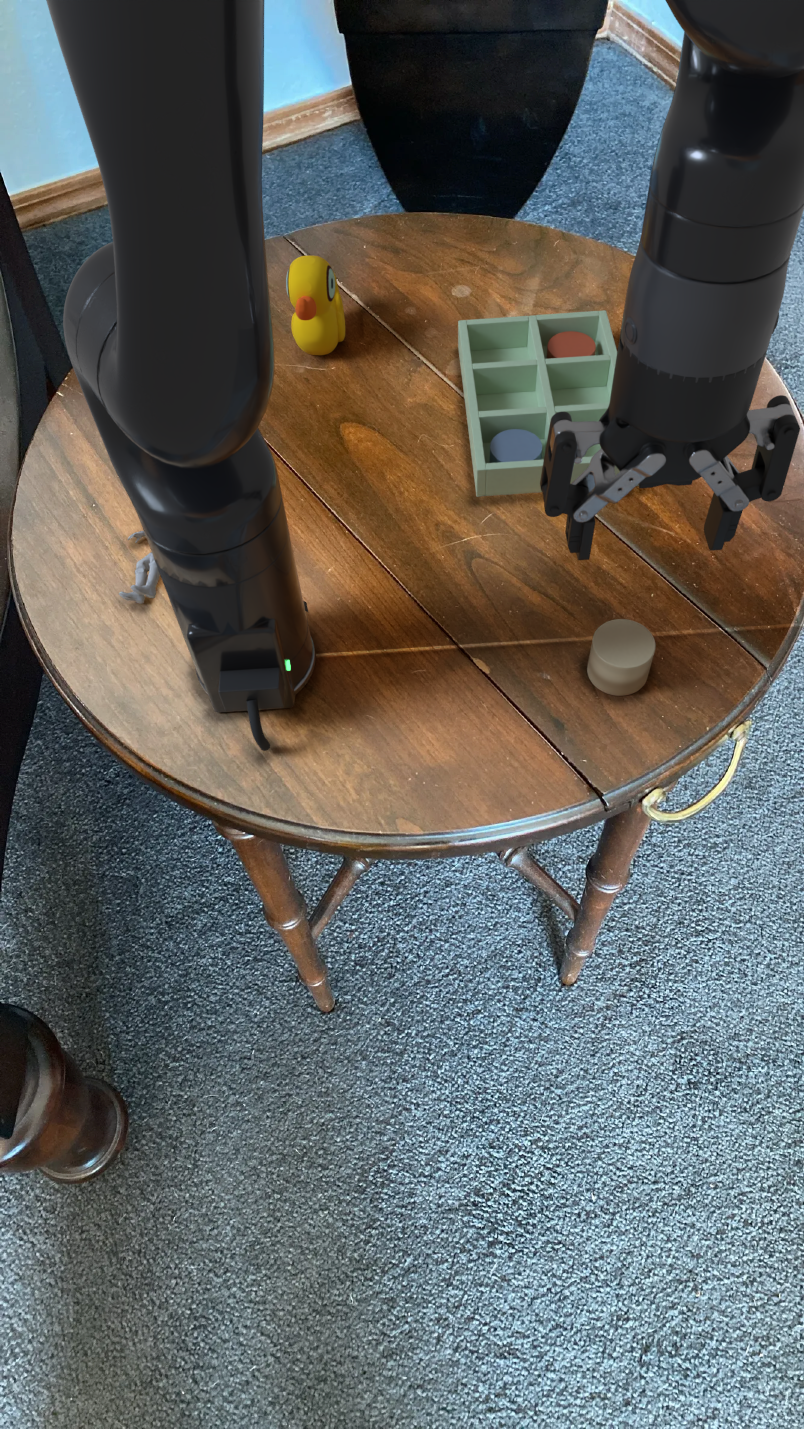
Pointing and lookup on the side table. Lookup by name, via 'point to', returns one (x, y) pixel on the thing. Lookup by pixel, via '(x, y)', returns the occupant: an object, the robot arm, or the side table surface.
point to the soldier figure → (143, 577)
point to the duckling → (315, 305)
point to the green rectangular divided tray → (529, 388)
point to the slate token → (515, 446)
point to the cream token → (620, 657)
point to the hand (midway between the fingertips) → (646, 545)
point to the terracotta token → (570, 345)
